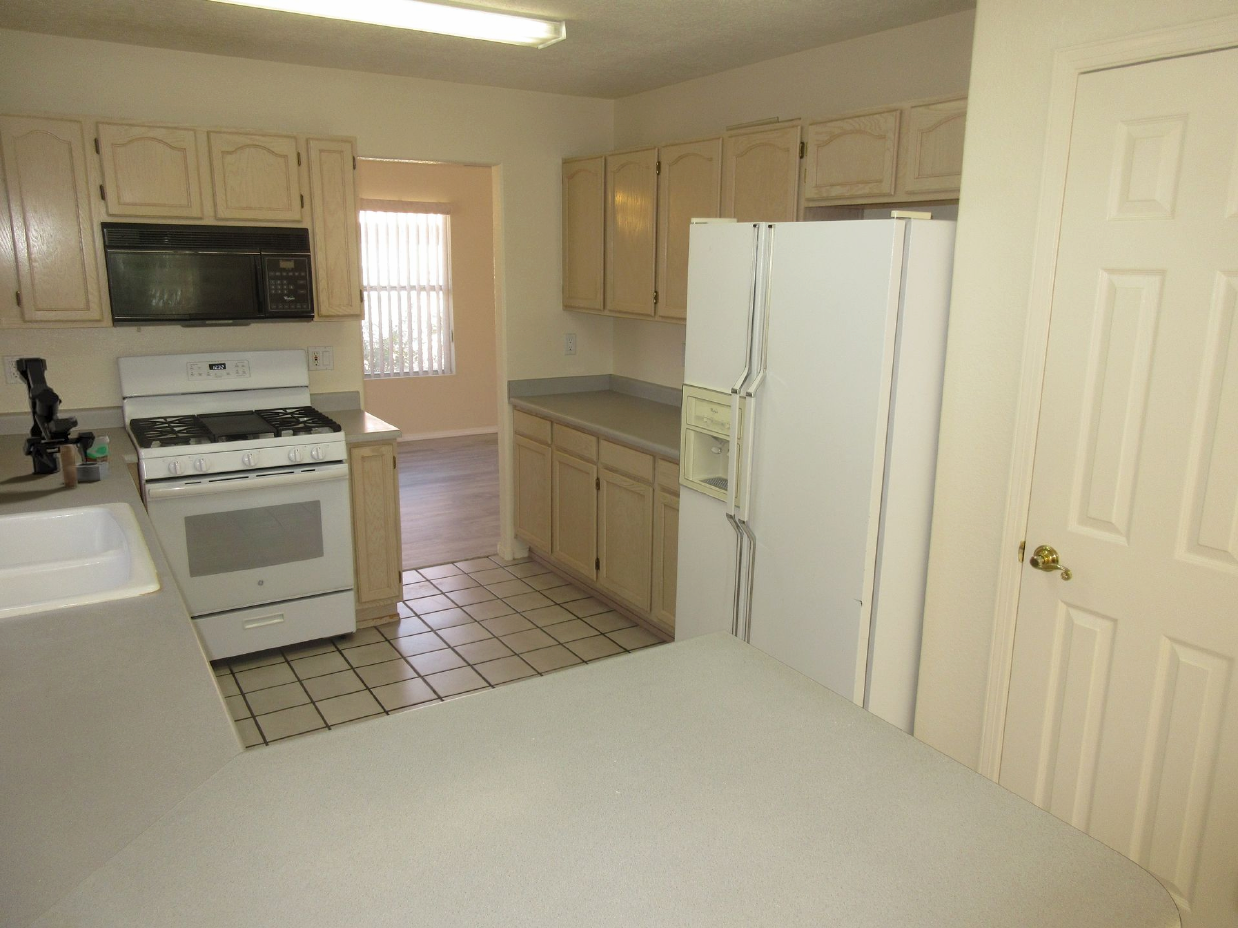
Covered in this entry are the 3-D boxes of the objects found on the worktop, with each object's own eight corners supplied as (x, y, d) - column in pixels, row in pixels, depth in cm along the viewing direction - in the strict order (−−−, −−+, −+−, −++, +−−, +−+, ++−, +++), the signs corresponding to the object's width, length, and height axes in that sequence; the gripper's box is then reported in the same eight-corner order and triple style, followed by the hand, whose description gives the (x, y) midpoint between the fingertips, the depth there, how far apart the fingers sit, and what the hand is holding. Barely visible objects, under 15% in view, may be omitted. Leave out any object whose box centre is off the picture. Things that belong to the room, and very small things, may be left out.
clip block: (68, 481, 274) (67, 467, 273) (79, 476, 283) (77, 462, 282) (100, 480, 276) (98, 466, 275) (109, 474, 285) (108, 461, 284)
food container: (98, 468, 296) (95, 439, 294) (80, 468, 296) (77, 439, 294) (119, 462, 308) (116, 434, 306) (102, 462, 308) (99, 434, 306)
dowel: (62, 487, 266) (57, 446, 264) (66, 484, 270) (62, 444, 267) (75, 486, 267) (70, 446, 265) (79, 484, 270) (74, 444, 268)
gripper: (21, 411, 259) (41, 451, 255) (89, 405, 274) (109, 443, 269) (14, 435, 265) (33, 475, 261) (81, 428, 280) (100, 466, 275)
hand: (70, 464), depth 266 cm, fingers open, 9 cm apart
